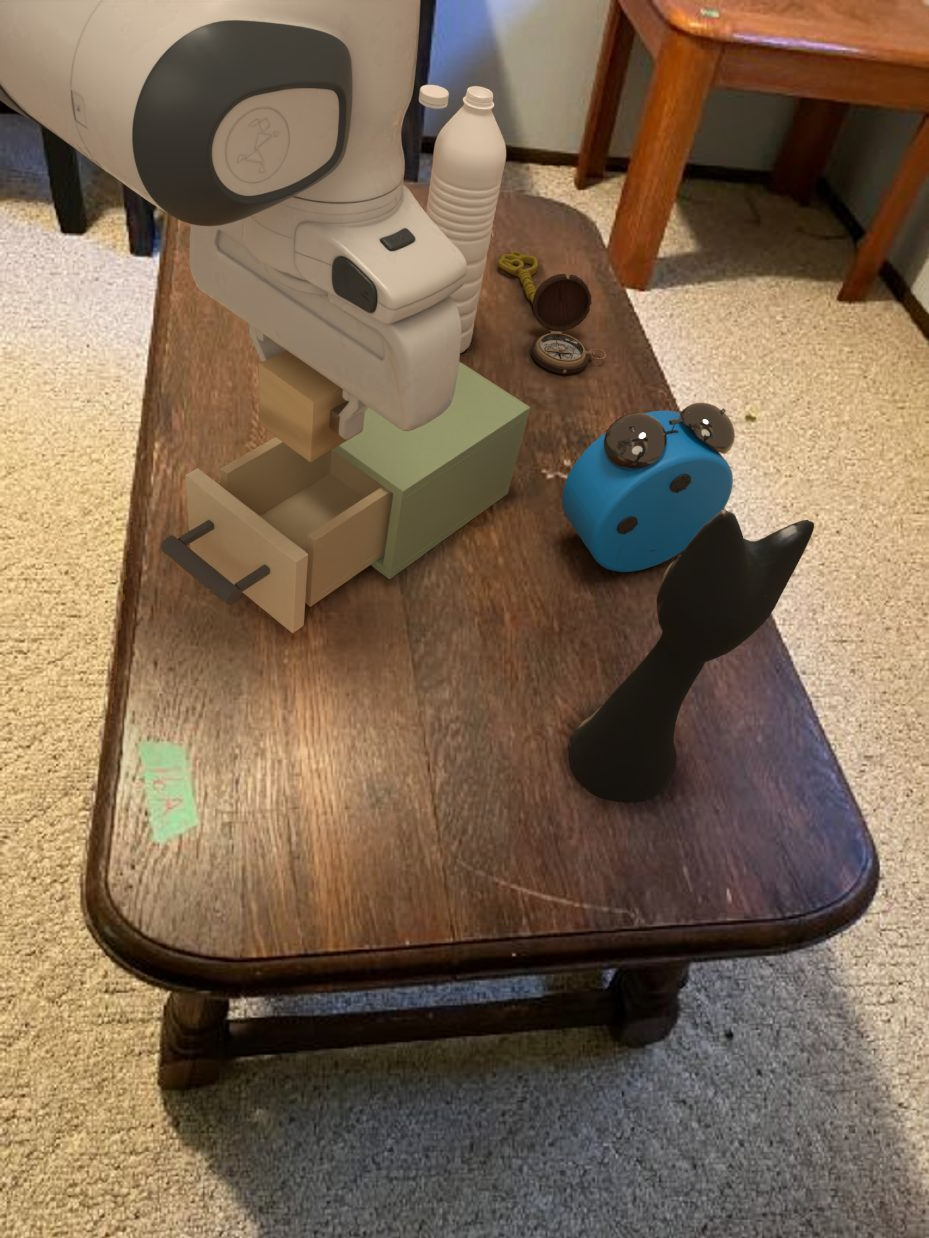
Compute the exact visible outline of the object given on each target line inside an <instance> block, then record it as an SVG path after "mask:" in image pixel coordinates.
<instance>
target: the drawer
mask: <svg viewBox="0 0 929 1238" xmlns="http://www.w3.org/2000/svg"><path fill="white" fill-rule="evenodd" d="M184 477H185V492H186V507H187V522H188V524H187V525H188V531H187V532H185V533H183V534H182V535H180V536H179V537H177V536H175V535H168V536H167V537H165V538H164V539H163V540H162V542H161V545H160V550H161V552H163V554H165V555H166V556H167V557H168V558H170V559H171V560H172V561H174V562H175V563H176V564H177V566H179V567H181V568H182V569H183V570H184V571H186V573H188V574H189V575H190V576H191V577H193V578H194V579H195V580H196V581H197V582H198V583H200V584H201V585H202V586H203V587H204V588H205V589H207V590H208V591H210V592H211V593H212V594H213V595H214V596H215V597H217V599H219V600H220V601H221V602H222V603H224V604H225V605H226V606H233V605H235V604H236V603H237V602H238V601H239V600H240V598H241V596H242V594H244V595H245V596H246V597H247V598H249V599H250V600H251V601H252V602H254V604H256V605H257V606H258V607H260V609H262V610H263V611H264V612H266V613H267V614H268V615H269V616H270V617H272V618H273V619H274V620H275V621H276V622H278V623H279V624H280V625H281V626H283V627H284V628H285V629H286V630H288V631H289V632H290V633H291V634H294V633H295V632H297V631H298V630H300V629H301V628H302V627H304V626H305V612H306V606H308V607H310V608H311V607H312V606H314V605H315V604H317V603H318V602H319V601H321V600H323V599H324V598H326V596H328V595H330V594H331V593H333V592H334V591H335V590H337V589H339V587H340V588H341V586H343V585H344V584H345V583H347V582H348V581H350V580H351V579H352V578H354V577H356V576H357V575H358V574H359V573H361V572H362V571H364V570H365V569H367V568H368V567H370V566H371V564H372V563H374V562H375V561H377V560H378V559H379V558H381V557H382V556H384V554H385V547H386V541H387V534H388V527H389V520H390V513H391V506H392V499H393V493H392V492H390V491H389V490H388V489H386V488H385V487H383V486H382V485H381V484H379V483H378V482H376V481H375V480H374V479H372V478H371V477H370V476H368V475H367V474H365V473H364V472H363V471H361V470H360V469H358V468H357V467H356V466H354V465H353V464H352V463H350V462H349V461H347V460H346V459H345V458H343V457H342V456H340V455H339V454H338V453H336V452H335V451H334V450H330V451H329V452H327V453H325V454H324V455H322V456H320V457H318V458H317V459H315V460H313V461H312V462H309V461H308V460H306V459H305V458H304V457H302V456H301V455H300V454H298V453H297V452H296V451H294V450H293V449H292V448H290V447H289V446H288V445H286V444H285V443H283V442H282V441H281V440H279V439H278V438H277V437H275V436H274V437H273V438H271V439H269V440H268V441H266V442H264V443H261V445H259V446H257V447H255V448H254V449H252V450H250V451H248V452H246V453H245V454H242V455H241V456H239V457H237V458H234V459H233V460H232V461H230V462H229V463H226V464H225V465H223V466H221V467H220V484H219V483H218V482H216V481H215V480H214V479H213V478H212V477H210V476H208V475H207V474H206V473H205V472H204V471H202V470H201V469H199V467H198V468H195V469H193V470H191V471H190V472H188V473H186V474H185V475H184ZM188 545H189V546H188Z"/></svg>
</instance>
